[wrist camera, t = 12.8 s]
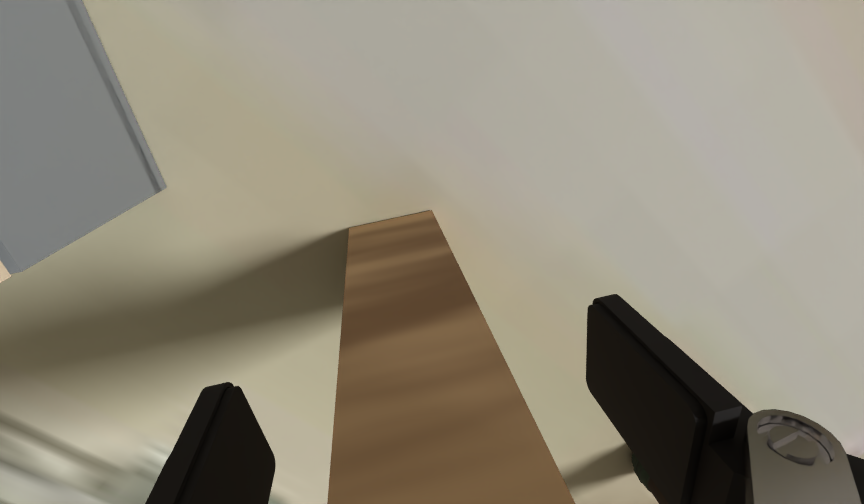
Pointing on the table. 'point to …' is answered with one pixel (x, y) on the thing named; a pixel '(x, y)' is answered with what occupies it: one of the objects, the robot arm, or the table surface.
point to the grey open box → (62, 133)
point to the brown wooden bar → (427, 384)
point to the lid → (3, 273)
